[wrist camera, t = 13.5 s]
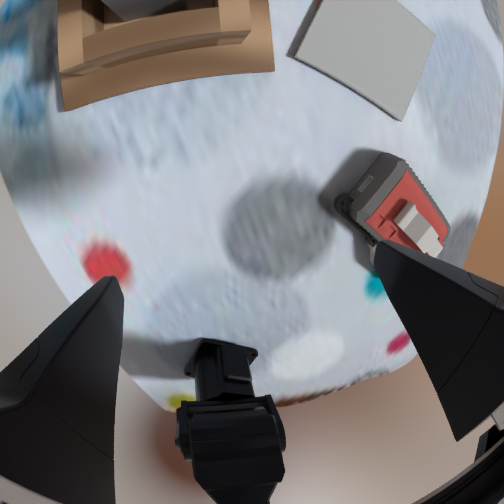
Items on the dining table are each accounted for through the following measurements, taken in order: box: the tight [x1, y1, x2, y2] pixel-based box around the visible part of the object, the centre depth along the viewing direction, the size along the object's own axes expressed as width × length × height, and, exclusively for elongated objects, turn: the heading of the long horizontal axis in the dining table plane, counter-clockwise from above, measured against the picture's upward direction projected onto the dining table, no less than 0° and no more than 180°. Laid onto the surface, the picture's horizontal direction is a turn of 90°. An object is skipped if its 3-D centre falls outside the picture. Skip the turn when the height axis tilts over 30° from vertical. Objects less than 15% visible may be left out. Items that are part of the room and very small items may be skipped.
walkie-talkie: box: [334, 153, 450, 265], centre depth 24 cm, size 9×4×20 cm
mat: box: [294, 0, 435, 122], centre depth 15 cm, size 10×10×1 cm
